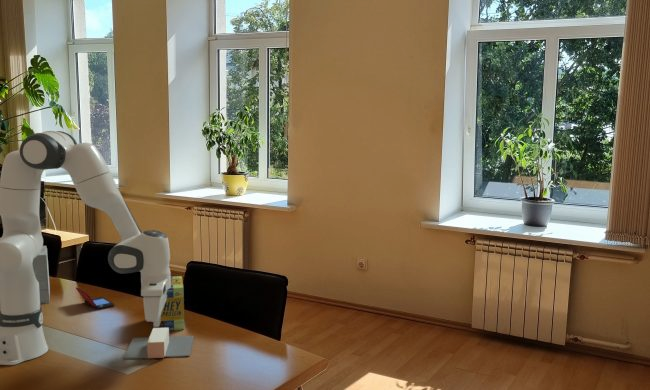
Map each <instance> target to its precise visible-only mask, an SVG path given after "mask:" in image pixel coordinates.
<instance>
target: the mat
mask: <svg viewBox="0 0 650 390" xmlns="http://www.w3.org/2000/svg"><path fill="white" fill-rule="evenodd" d="M149 337H150V336H148V337H132V339H131V340H130V343H129V345H128V348H127V349H126V351H125V353H124V356H123V360H139V359H142V358H145V359H149V358H148V349H147V342H148V340H149ZM194 338H195V335H184V336H183V335H182V336H181V335H179V336H177V335H176V336H169V344H168V347H167V351H166V354H165V357H171V358H181V357H180V356H190V355H191V352H192V348H191V347H193V343H194ZM190 357H191V356H190Z"/></svg>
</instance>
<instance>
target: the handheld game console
mask: <svg viewBox="0 0 650 390" xmlns="http://www.w3.org/2000/svg"><path fill="white" fill-rule="evenodd" d="M75 290H76V291H77V292H78V293H79V294H80V296H81V297H82V298H83V300H84V304H86V305H87V306H89V305H90V306H91V308H92V309H93V310H95V311H99V310H101V311H102V310H105V309H109V308H114V307H115V303H114V302H112V301H110V300H109V299H108V298H105V297H104V296H101V297H96V298H92V297H91V296H90V295H89V294H88V293H87V292H85V291H84V290H82V289H80V288H79V287H78V286H76V287H75Z"/></svg>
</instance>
